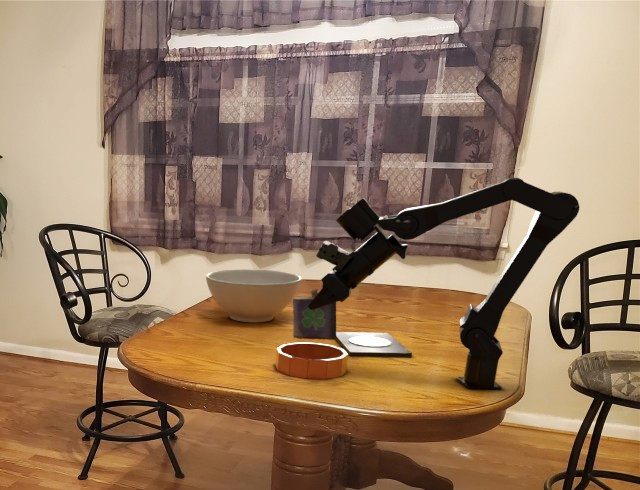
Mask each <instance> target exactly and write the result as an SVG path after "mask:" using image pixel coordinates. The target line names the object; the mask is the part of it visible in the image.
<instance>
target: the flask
mask: <svg viewBox="0 0 640 490" xmlns="http://www.w3.org/2000/svg"><path fill="white" fill-rule="evenodd" d="M318 291H319V289H318V288H315V289H312V290H310V291H309V293H310V295H311V296H298V297H296V296H294V298H293V299H292V309H293V310H292V314H293V318H292V324H293V325H292V327H293V328H292V330H293V332H292V335H293V339H298V340H318V341H319V340H327V341H334V340H335V341H336V332H337V302H334V303H331V304H328V305H325V306H322V307H319V308H316V309H313V310H310V309H309V308H308V305H309V304H310V303H311V302H312V300H313V299H314V298H315V297H316V295H317V294H318V293H319V292H318Z"/></svg>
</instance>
